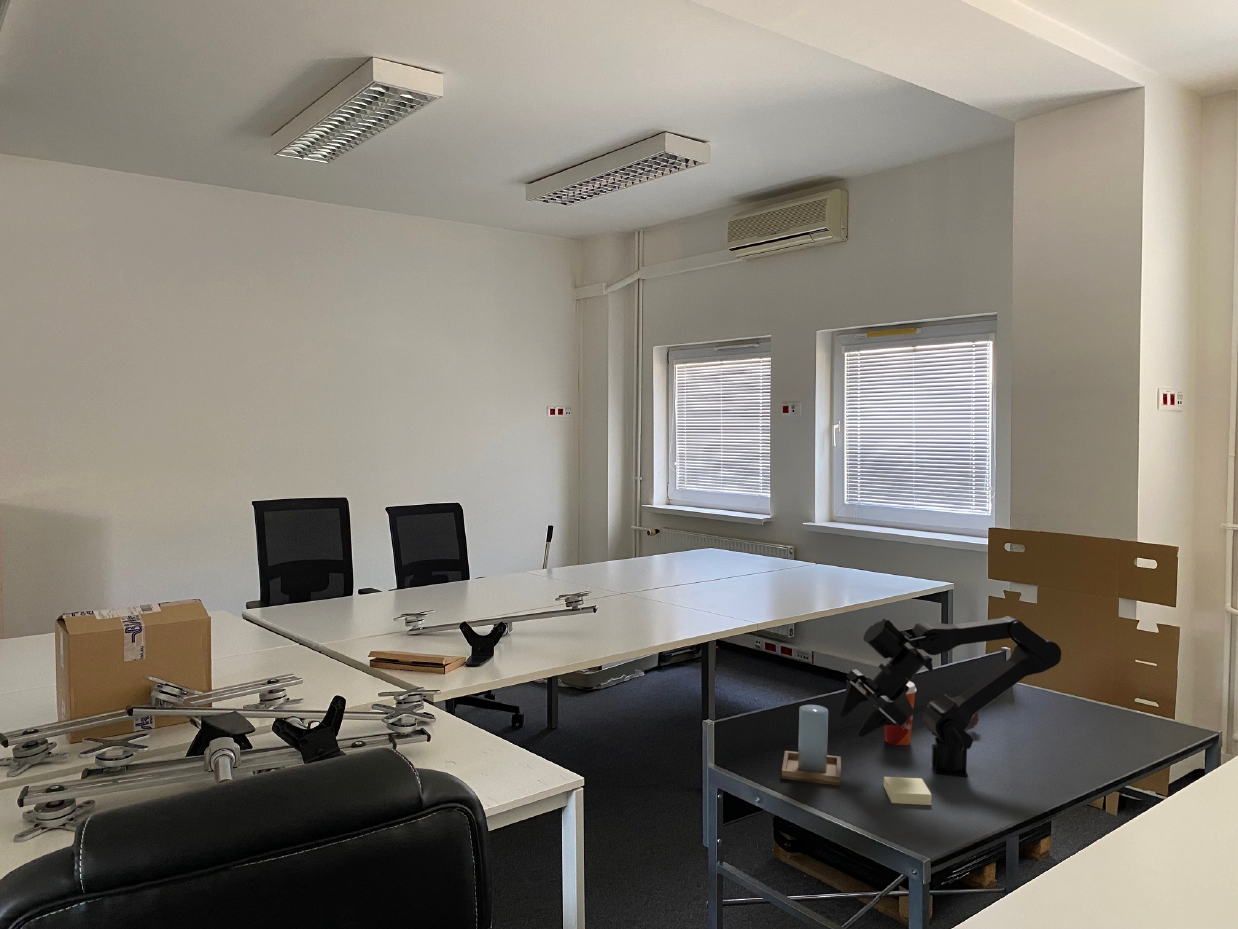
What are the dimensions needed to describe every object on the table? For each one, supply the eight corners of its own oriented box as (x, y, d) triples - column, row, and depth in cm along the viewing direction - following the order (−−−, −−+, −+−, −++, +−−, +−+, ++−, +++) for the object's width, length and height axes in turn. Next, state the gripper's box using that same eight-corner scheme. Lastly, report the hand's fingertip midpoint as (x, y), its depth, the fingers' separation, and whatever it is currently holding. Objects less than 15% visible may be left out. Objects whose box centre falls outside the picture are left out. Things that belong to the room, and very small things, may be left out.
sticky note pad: (921, 790, 177) (921, 778, 177) (931, 807, 169) (931, 794, 169) (883, 788, 178) (883, 776, 177) (891, 805, 170) (891, 792, 170)
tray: (840, 764, 188) (840, 756, 188) (840, 785, 178) (840, 777, 177) (784, 758, 191) (785, 750, 191) (781, 778, 181) (781, 770, 180)
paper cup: (916, 749, 198) (918, 689, 197) (882, 746, 199) (884, 686, 198) (912, 736, 205) (914, 679, 205) (879, 734, 207) (880, 676, 206)
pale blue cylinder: (830, 767, 185) (832, 708, 185) (821, 777, 180) (822, 716, 179) (803, 761, 188) (805, 703, 188) (793, 770, 183) (795, 710, 183)
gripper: (945, 712, 177) (894, 769, 177) (902, 677, 195) (856, 728, 195) (910, 680, 175) (858, 737, 175) (869, 647, 193) (823, 699, 193)
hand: (849, 726), depth 184 cm, fingers open, 9 cm apart
